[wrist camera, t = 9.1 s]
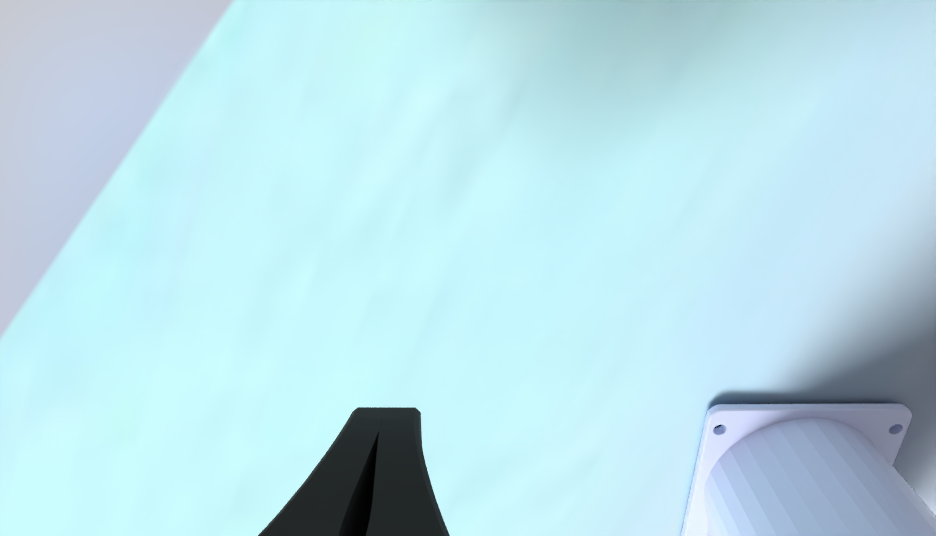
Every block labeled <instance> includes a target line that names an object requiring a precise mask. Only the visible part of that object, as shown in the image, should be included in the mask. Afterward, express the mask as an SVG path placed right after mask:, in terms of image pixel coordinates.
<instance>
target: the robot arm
mask: <svg viewBox="0 0 936 536" xmlns="http://www.w3.org/2000/svg"><path fill="white" fill-rule="evenodd" d="M911 419H912V413H911V411H910V410H909V409H908V408H907V407H906V406H904V405H903V404H719V405H715V406H713V407H711V408H710V409H709V410H708V412H707V414H706V418H705V423H704V428H703V432H702V437H701V442H700V447H699V451H698V456H697V461H696V466H695V470H694V475H693V480H692V485H691V489H690V494H689V499H688V504H687V509H686V513H685V518H684V523H683V528H682V532H681V536H936V516H935V515H934V513H933V512H932V511H931V510H930V509H929V508H928V506H927V505H926V504H925V503H924V502H923V501H922V499H921V498H920V497H919V496H918V495H917V494H916V493H915V491H914V490H913V489H912V488H911V487H910V486H909V484H908V483H907V482H906V481H905V480H904V479H903V477H902V476H901V475H900V474H899V473H898V472H897V471H896V469H895V468H894V467H893V464H894V461H895V459H896V456H897V454H898V451H899V449H900V446H901V444H902V441H903V439H904V436H905V434H906V431H907V429H908V426H909V424H910V421H911ZM717 425H721V426H720V427H719V428H714V427H716V426H717ZM893 425H894V426H893ZM891 426H892V427H891ZM258 536H450V535H449V533H448V531H447V528H446V526H445V523H444V521H443V518H442V515H441V513H440V510H439V507H438V504H437V501H436V499H435V495H434V492H433V489H432V486H431V482H430V479H429V475H428V471H427V468H426V464H425V460H424V455H423V450H422V438H421V413H420V411H418V410H417V409H416V408H357V409H356V410H354V411H353V412H352V414H351V416H350V417H349V419H348V421H347V422H346V424H345V426H344V427H343V429H342V430H341V432H340V433H339V435H338V436H337V438H336V439H335V441H334V442H333V444H332V445H331V447H330V448H329V450H328V451H327V452H326V454H325V455H324V457H323V458H322V459H321V461H320V462H319V463H318V465H317V466H316V467H315V469H314V470H313V471H312V473H311V474H310V475H309V477H308V478H307V479H306V481H305V482H304V483H303V485H302V486H301V487H300V488H299V489H298V491H297V492H296V493H295V494H294V495H293V497H292V498H291V499H290V500H289V501H288V503H287V504H286V505H285V506H284V507H283V509H282V510H281V511H280V512H279V513H278V514H277V516H276V517H275V518H274V519H273V520H272V521H271V522H270V523H269V524H268V526H267V527H266V528H265V529H264V530H263V531H262V532H261V533H260V534H259V535H258Z"/></svg>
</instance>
